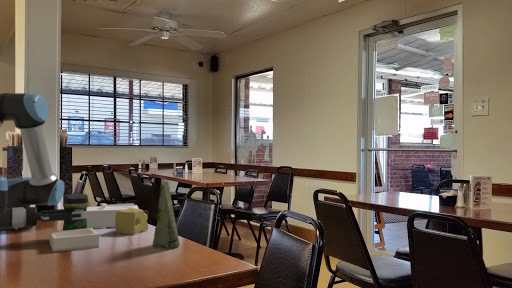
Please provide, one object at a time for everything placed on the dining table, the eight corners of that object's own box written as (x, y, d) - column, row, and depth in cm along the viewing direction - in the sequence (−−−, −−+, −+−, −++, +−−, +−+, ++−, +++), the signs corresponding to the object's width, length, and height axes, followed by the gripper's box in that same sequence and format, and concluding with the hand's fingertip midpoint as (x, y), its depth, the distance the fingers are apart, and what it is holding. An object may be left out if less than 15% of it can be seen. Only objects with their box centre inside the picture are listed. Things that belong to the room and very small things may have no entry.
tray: (49, 244, 157) (50, 231, 157) (92, 240, 165) (92, 228, 165) (53, 252, 145) (53, 238, 146) (98, 247, 154) (99, 234, 154)
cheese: (148, 231, 186) (148, 209, 186) (134, 235, 176) (134, 212, 176) (129, 229, 189) (129, 207, 189) (114, 233, 179) (114, 210, 179)
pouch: (161, 251, 149) (162, 183, 149) (143, 246, 157) (145, 181, 157) (186, 246, 157) (187, 181, 157) (168, 241, 165) (169, 179, 165)
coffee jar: (64, 242, 160) (65, 195, 161) (60, 239, 167) (61, 193, 167) (89, 239, 166) (90, 194, 166) (85, 236, 172) (85, 192, 173)
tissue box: (83, 224, 201) (84, 202, 201) (136, 221, 210) (136, 200, 210) (82, 229, 188) (83, 206, 188) (138, 226, 197) (139, 204, 197)
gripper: (23, 222, 166) (82, 218, 178) (26, 231, 148) (92, 226, 160) (24, 204, 166) (83, 200, 178) (26, 211, 148) (92, 207, 160)
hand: (87, 212), depth 169 cm, fingers open, 9 cm apart
